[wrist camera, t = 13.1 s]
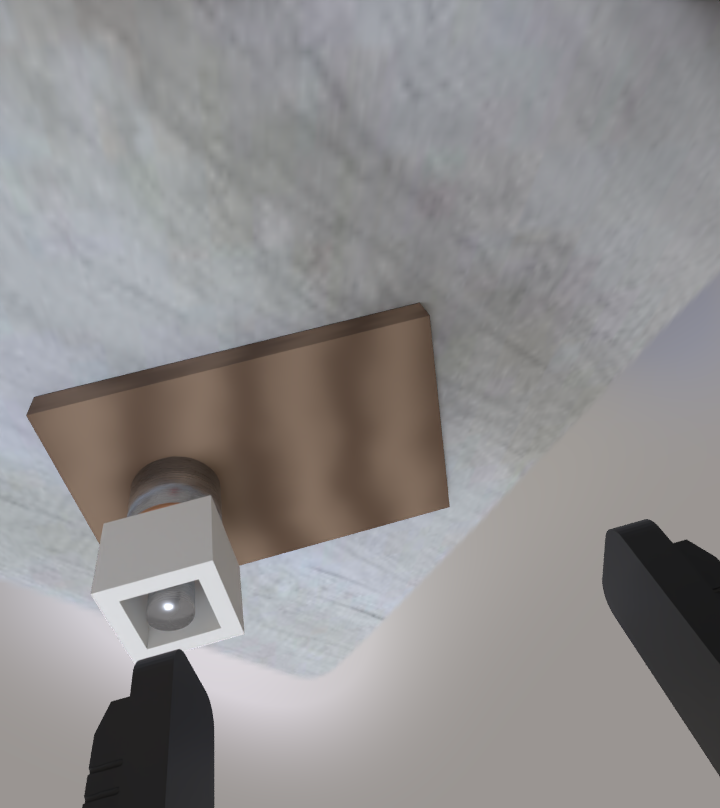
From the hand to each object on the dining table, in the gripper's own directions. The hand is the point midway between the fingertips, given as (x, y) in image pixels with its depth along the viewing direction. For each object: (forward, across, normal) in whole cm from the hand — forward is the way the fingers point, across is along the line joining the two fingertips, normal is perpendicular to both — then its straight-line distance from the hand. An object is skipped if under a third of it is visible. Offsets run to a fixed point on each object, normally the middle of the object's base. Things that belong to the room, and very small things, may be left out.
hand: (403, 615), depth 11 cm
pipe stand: (+27, +5, +15) cm, 32 cm away
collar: (+20, +11, +15) cm, 28 cm away
